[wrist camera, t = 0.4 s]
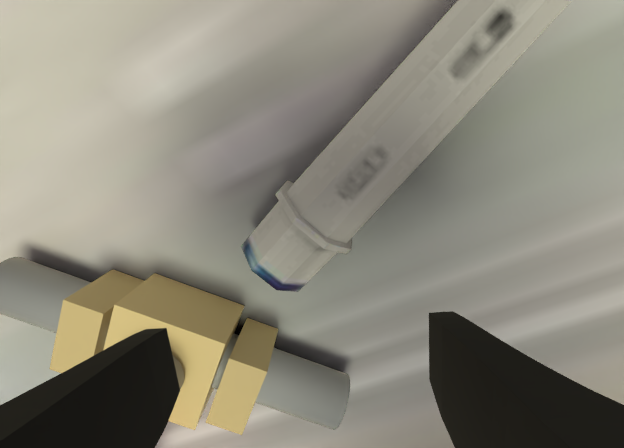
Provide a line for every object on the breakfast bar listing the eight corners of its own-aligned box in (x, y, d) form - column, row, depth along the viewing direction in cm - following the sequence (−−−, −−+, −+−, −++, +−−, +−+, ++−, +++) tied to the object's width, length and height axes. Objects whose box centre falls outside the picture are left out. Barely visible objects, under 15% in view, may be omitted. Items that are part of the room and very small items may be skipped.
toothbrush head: (217, 248, 15) (928, -633, 6) (258, 204, 21) (644, -268, 12) (305, 317, 16) (1059, -388, 7) (320, 255, 22) (728, -158, 13)
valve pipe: (356, 346, 20) (362, 392, 16) (323, 416, 22) (322, 473, 18) (35, 230, 19) (-35, 251, 15) (22, 310, 21) (-45, 348, 17)
